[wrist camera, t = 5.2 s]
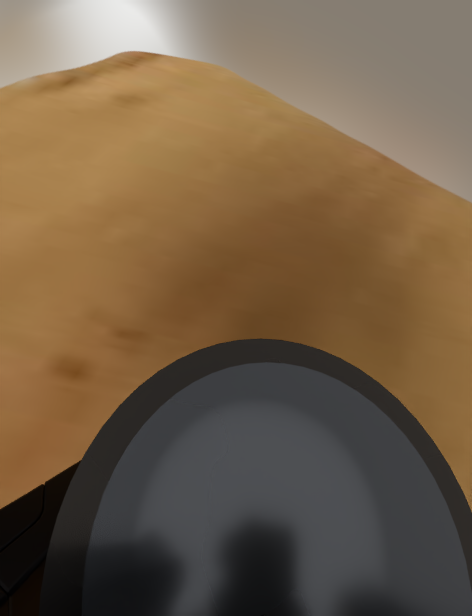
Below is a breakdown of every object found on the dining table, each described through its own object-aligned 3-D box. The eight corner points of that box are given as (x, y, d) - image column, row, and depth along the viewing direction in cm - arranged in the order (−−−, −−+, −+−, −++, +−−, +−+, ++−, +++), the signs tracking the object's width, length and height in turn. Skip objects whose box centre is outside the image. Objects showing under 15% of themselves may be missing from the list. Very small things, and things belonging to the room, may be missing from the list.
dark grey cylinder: (295, 469, 14) (533, 435, 4) (248, 598, 12) (563, 1454, 1) (203, 416, 15) (200, 272, 5) (142, 525, 13) (-147, 725, 2)
